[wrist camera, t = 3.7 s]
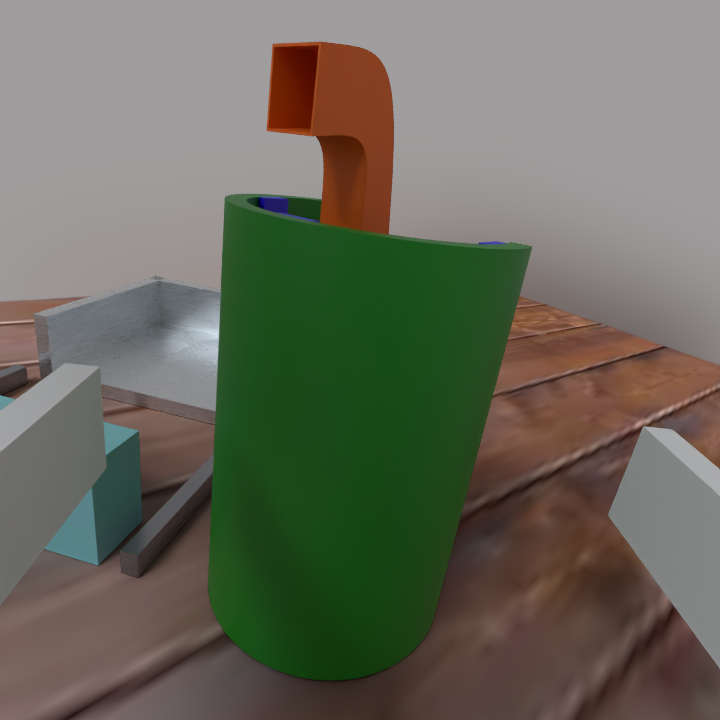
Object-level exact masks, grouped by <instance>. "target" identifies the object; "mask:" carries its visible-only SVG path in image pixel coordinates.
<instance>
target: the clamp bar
mask: <svg viewBox="0 0 720 720" xmlns="http://www.w3.org/2000/svg"><path fill="white" fill-rule="evenodd" d="M14 400H16V399H12V398H9V397H5V396H1V395H0V411H1V410H2V409H3V408H5V407H6V406H8V405H9V404H10V403H12V402H13V401H14ZM104 436H105V451H106V466H107V468H106V469H105V470H104V472H103V473H102V474H101V476H100V477H99V478H98V479H97V481H96V482H95V483H94V485H93V486H92V487H91V489H90V490H89V491H88V492H87V494H86V495H85V496H84V498H83V499H82V500H81V502H80V503H79V504H78V505H77V507H76V508H75V509H74V511H73V512H72V513H71V515H70V516H69V517H68V519H67V520H66V521H65V522H64V524H63V525H62V526H61V528H60V529H59V530H58V532H57V533H56V534H55V535H54V537H53V538H52V539H51V541H50V542H49V543H48V545H47V546H46V547H45V548H44V549H46V550H49V551H52V552H55V553H59V554H62V555H65V556H68V557H72V558H75V559H78V560H81V561H84V562H88V563H91V564H94V565H97V566H98V565H99V564H100V563H101V562H102V561H103V560H104V559H105V558H106V557H107V556H108V555H109V554H110V553H111V552H112V551H113V550H114V549H115V548H116V547H117V546H118V545H119V544H120V543H121V542H122V541H123V540H124V539H125V538H126V537H127V536H128V535H129V534H130V533H131V532H132V531H133V530H134V529H135V528H136V527H137V526H138V525H139V524H140V523H141V522H142V501H141V474H140V446H139V431H138V430H134V429H130V428H126V427H122V426H118V425H114V424H111V423H107V422H104Z"/></svg>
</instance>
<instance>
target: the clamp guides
mask: <svg viewBox="0 0 720 720" xmlns="http://www.w3.org/2000/svg"><path fill="white" fill-rule="evenodd" d="M27 383H28V378H27V370H26V367H24V366H20V365H14V366H11V367H9V368H6V369H4V370H1V371H0V395H2V394H5V393H7V392H9V391H11V390H13V389H16V388H18V387H20V386H22V385H24V384H27ZM213 458H214V454H213V455H212V456H211V457H210V458H209V459H208V460H207V461H206V462H205V463H204V464H203V465H202V466H201V467H200V468H199V469H198V470H197V471H196V472H195V473H194V474H193V476H192V477H191V478H190V479H189V480H188V481H187V482H186V483H185V484H184V485H183V486H182V487H181V488H180V489H179V490H178V491H177V492H176V493H175V494H174V495H173V496H172V497H171V498H170V499H169V500H168V501H167V502H166V503H165V505H164V506H163V507H162V508H161V509H160V510H159V511H158V512H157V513H156V514H155V515H154V516H153V517H152V518H151V519H150V520H149V521H148V522H147V523H146V524H145V525H144V526H143V527H142V528H141V529H140V530H139V531H138V532H137V534H136V535H135V536H134V537H133V538H132V539H131V540H130V541H129V542H128V543H127V544H126V545H125V546H124V547H123V548H122V549H121V550H120V561H121V573H123V574H127V575H130V576H133V577H136V578H139V577H140V575H141V574H142V573H143V572H144V571H145V570H146V568H147V567H148V566H149V565H150V564H151V562H152V561H153V560H154V559H155V558H156V557H157V555H158V554H159V553H160V552H161V551H162V550H163V548H164V547H165V546H166V545H167V544H168V543H169V541H170V540H171V539H172V538H173V537H174V536H175V534H176V533H177V532H178V531H179V530H180V529H181V527H182V526H183V525H184V524H185V523H186V522H187V520H188V519H189V518H190V517H191V516H192V515H193V513H194V512H195V511H196V510H197V509H198V507H199V506H200V505H201V504H202V503H203V502H204V500H205V499H206V498H207V497H208V496H209V495H210V493H211V492H212V481H213Z"/></svg>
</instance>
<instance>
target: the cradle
mask: <svg viewBox="0 0 720 720" xmlns="http://www.w3.org/2000/svg"><path fill="white" fill-rule="evenodd" d="M220 298H221V289H217V288H212V287H207V286H201V285H197V284H191V283H186V282H181V281H176V280H171V279H166V278H161V277H156V276H155V277H152V278H148V279H145V280H142V281H139V282H135V283H132V284H129V285H126V286H122V287H119V288H116V289H113V290H110V291H106V292H103V293H100V294H96V295H93V296H90V297H87V298H84V299H80V300H77V301H74V302H71V303H67V304H64V305H61V306H58V307H54V308H51V309H48V310H45V311H41V312H38V313H35V314H34V323H35V331H36V340H37V348H38V357H39V366H40V374H41V380H43V379H44V378H46V377H47V376H48V375H50V374H51V373H52V372H54V371H55V370H56V369H58V368H59V367H60V366H62V365H63V364H65V363H71V364H80V365H89V366H98V367H100V376H101V391H102V397H105V398H109V399H113V400H117V401H121V402H125V403H129V404H133V405H137V406H141V407H145V408H149V409H153V410H158V411H162V412H166V413H170V414H174V415H178V416H182V417H186V418H190V419H194V420H198V421H202V422H206V423H210V424H214V425H215V412H216V390H217V367H218V344H219V321H220Z"/></svg>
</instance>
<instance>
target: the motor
mask: <svg viewBox="0 0 720 720" xmlns="http://www.w3.org/2000/svg"><path fill="white" fill-rule="evenodd" d="M272 48H273V49H272V63H271V77H270V91H269V105H268V119H267V131H272V132H280V133H289V134H298V135H306V136H316V137H317V139H318V140H319V142H320V145H321V148H322V152H323V163H324V176H323V192H322V199H314V198H305V197H294V196H282V195H266V194H234V195H229V196H226V197H225V208H224V229H223V252H222V253H223V254H222V275H221V298H220V321H219V344H218V367H217V390H216V412H215V435H214V458H213V481H212V504H211V527H210V550H209V573H208V592H209V598H210V602H211V606H212V609H213V611H214V614H215V616H216V618H217V620H218V622H219V624H220V625H221V627H222V628H223V630H224V631H225V632H226V634H227V635H228V636H229V637H230V639H231V640H232V641H233V642H234V643H235V644H236V645H237V646H239V647H240V648H241V649H242V650H243V651H244V652H246V653H247V654H248V655H250V656H251V657H253V658H254V659H256V660H257V661H259V662H261V663H263V664H265V665H267V666H269V667H271V668H273V669H275V670H278V671H281V672H283V673H286V674H290V675H293V676H297V677H301V678H307V679H314V680H331V681H333V680H348V679H355V678H360V677H364V676H368V675H371V674H374V673H377V672H380V671H382V670H385V669H387V668H389V667H391V666H393V665H395V664H396V663H398V662H399V661H401V660H402V659H404V658H405V657H406V656H408V655H409V654H410V653H411V652H412V651H413V650H414V649H415V648H416V647H417V646H418V645H419V644H420V643H421V641H422V640H423V639H424V637H425V636H426V634H427V633H428V631H429V629H430V627H431V625H432V622H433V619H434V615H435V612H436V608H437V604H438V600H439V596H440V593H441V589H442V585H443V581H444V578H445V574H446V570H447V566H448V563H449V559H450V555H451V551H452V547H453V544H454V540H455V536H456V532H457V529H458V525H459V521H460V517H461V514H462V510H463V506H464V502H465V498H466V495H467V491H468V487H469V483H470V480H471V476H472V472H473V468H474V465H475V461H476V457H477V453H478V449H479V446H480V442H481V438H482V434H483V431H484V427H485V423H486V419H487V416H488V412H489V408H490V404H491V400H492V397H493V393H494V389H495V385H496V382H497V378H498V374H499V370H500V367H501V363H502V359H503V355H504V351H505V348H506V344H507V340H508V336H509V333H510V329H511V325H512V321H513V318H514V314H515V310H516V306H517V302H518V299H519V295H520V291H521V287H522V284H523V280H524V276H525V272H526V268H527V265H528V261H529V257H530V253H531V250H532V246H527V245H522V244H517V243H512V242H510V243H501V242H482V243H479V244H469V243H468V244H467V243H456V242H444V241H435V240H426V239H418V238H410V237H403V236H395V235H389V220H390V206H391V205H390V204H391V190H392V174H393V148H394V119H393V102H392V93H391V87H390V83H389V78H388V75H387V72H386V69H385V67H384V65H383V64H382V62H381V61H380V59H379V58H378V57H377V56H376V55H374V54H373V53H372V52H370V51H368V50H366V49H363V48H360V47H355V46H350V45H343V44H335V43H327V42H306V43H283V44H273V47H272Z"/></svg>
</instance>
